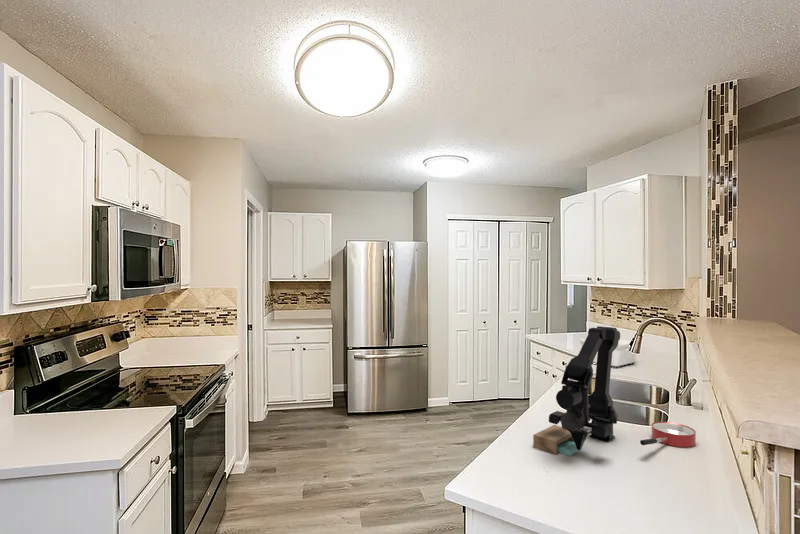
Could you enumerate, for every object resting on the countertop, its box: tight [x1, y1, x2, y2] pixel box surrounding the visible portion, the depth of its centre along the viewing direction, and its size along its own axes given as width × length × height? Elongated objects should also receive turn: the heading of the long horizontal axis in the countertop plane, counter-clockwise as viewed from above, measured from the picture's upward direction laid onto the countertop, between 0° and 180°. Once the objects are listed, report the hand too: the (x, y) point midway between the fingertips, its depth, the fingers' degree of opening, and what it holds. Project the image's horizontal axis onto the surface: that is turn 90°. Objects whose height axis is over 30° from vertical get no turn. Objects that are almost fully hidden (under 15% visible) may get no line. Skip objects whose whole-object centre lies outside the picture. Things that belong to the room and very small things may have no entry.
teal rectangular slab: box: [557, 440, 580, 456], centre depth 144 cm, size 10×8×2 cm
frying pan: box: [639, 421, 697, 449], centre depth 144 cm, size 32×13×6 cm, turn 135°
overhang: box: [532, 424, 574, 456], centre depth 146 cm, size 8×14×4 cm, turn 132°
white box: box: [578, 337, 637, 368], centre depth 279 cm, size 34×29×15 cm
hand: (579, 449), depth 140 cm, fingers closed
